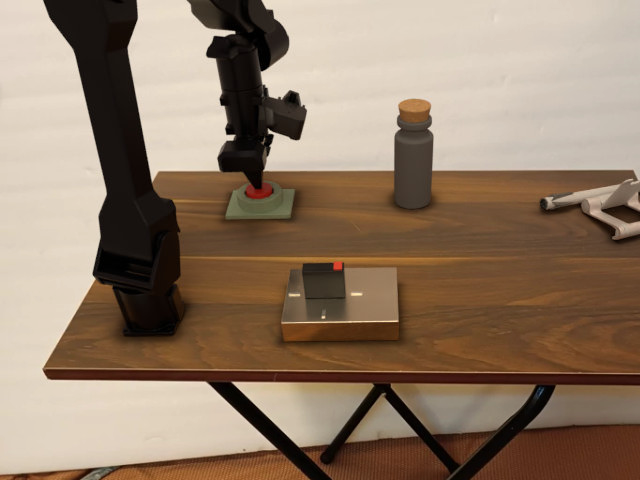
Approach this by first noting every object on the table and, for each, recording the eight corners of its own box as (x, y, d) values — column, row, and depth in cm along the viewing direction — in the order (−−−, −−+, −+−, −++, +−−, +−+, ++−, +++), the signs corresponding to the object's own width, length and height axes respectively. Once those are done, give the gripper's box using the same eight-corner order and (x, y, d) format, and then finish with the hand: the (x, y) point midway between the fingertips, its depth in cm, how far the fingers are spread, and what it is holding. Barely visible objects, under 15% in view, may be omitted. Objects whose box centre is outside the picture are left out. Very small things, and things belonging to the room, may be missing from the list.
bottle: (387, 196, 101) (386, 102, 91) (418, 187, 103) (421, 93, 93) (405, 213, 98) (407, 116, 87) (437, 203, 100) (443, 107, 89)
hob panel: (284, 341, 77) (280, 321, 75) (292, 287, 85) (289, 267, 83) (398, 340, 77) (398, 320, 75) (396, 285, 85) (396, 266, 82)
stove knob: (305, 298, 78) (301, 270, 75) (306, 289, 79) (302, 261, 76) (345, 297, 78) (343, 269, 75) (345, 288, 79) (343, 260, 76)
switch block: (225, 219, 97) (222, 205, 96) (234, 193, 103) (231, 179, 101) (290, 218, 97) (288, 204, 96) (295, 192, 103) (293, 178, 101)
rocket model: (547, 209, 95) (712, 179, 102) (543, 193, 95) (710, 164, 101) (539, 213, 97) (701, 183, 104) (536, 197, 97) (699, 169, 104)
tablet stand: (672, 226, 91) (634, 232, 99) (664, 171, 90) (627, 181, 98) (621, 239, 89) (587, 244, 97) (613, 182, 88) (579, 192, 96)
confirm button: (245, 204, 98) (243, 194, 97) (249, 191, 101) (247, 181, 99) (271, 204, 98) (269, 194, 97) (274, 191, 101) (272, 181, 99)
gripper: (293, 110, 80) (305, 218, 91) (305, 59, 93) (314, 159, 104) (206, 112, 80) (228, 220, 91) (230, 60, 94) (247, 160, 105)
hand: (258, 187), depth 98 cm, fingers closed, pressing on confirm button
